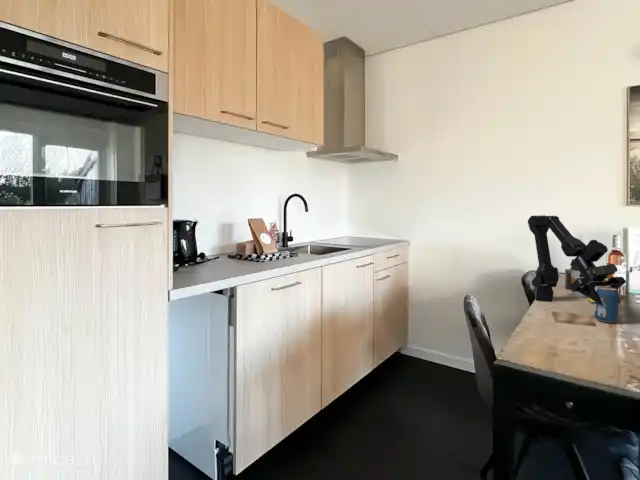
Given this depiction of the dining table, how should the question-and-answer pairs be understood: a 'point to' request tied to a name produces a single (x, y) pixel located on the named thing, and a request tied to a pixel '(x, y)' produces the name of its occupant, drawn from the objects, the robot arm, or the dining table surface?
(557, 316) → the tan flat square slab
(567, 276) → the manual coffee grinder
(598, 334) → the dining table surface
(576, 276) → the coffee cup
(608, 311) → the soda can
